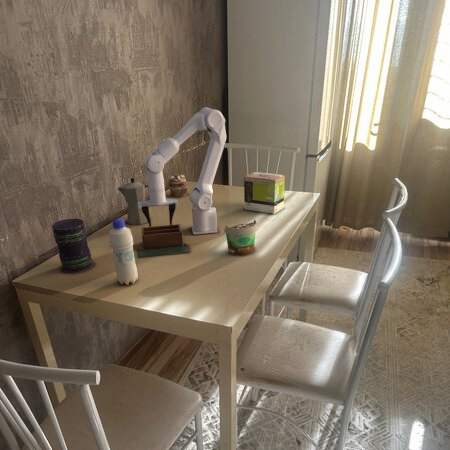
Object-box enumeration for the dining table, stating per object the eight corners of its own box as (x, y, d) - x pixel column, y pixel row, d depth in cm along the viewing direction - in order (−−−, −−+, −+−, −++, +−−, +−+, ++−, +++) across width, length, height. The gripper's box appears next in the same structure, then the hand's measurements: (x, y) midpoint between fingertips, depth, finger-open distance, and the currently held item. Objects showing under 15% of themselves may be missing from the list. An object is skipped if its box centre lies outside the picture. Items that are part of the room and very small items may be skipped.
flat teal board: (188, 252, 145) (188, 249, 145) (139, 257, 143) (139, 254, 142) (187, 245, 151) (186, 242, 150) (139, 249, 148) (139, 247, 148)
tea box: (284, 208, 183) (285, 174, 176) (274, 214, 176) (275, 179, 168) (254, 203, 190) (254, 170, 183) (243, 209, 183) (243, 175, 176)
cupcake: (167, 197, 202) (165, 176, 197) (172, 191, 210) (170, 171, 205) (186, 197, 201) (184, 177, 196) (190, 192, 209) (189, 172, 204)
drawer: (181, 232, 147) (179, 221, 157) (141, 235, 145) (141, 224, 155) (182, 245, 150) (180, 233, 159) (143, 248, 148) (143, 237, 157)
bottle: (118, 277, 130) (107, 216, 120) (140, 275, 131) (131, 215, 121) (115, 287, 125) (103, 224, 114) (138, 285, 125) (128, 223, 115)
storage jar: (76, 275, 132) (65, 231, 125) (56, 269, 137) (44, 226, 129) (99, 263, 139) (90, 221, 132) (79, 257, 144) (69, 216, 136)
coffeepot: (125, 227, 169) (117, 183, 160) (120, 220, 176) (113, 177, 167) (161, 221, 174) (156, 177, 164) (155, 214, 181) (150, 172, 172)
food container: (233, 259, 139) (232, 231, 134) (224, 253, 144) (223, 226, 138) (264, 252, 144) (264, 224, 138) (255, 245, 148) (255, 219, 143)
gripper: (175, 184, 153) (179, 219, 160) (136, 187, 151) (141, 222, 158) (177, 189, 147) (180, 225, 154) (136, 192, 145) (141, 229, 152)
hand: (160, 224), depth 155 cm, fingers open, 7 cm apart
